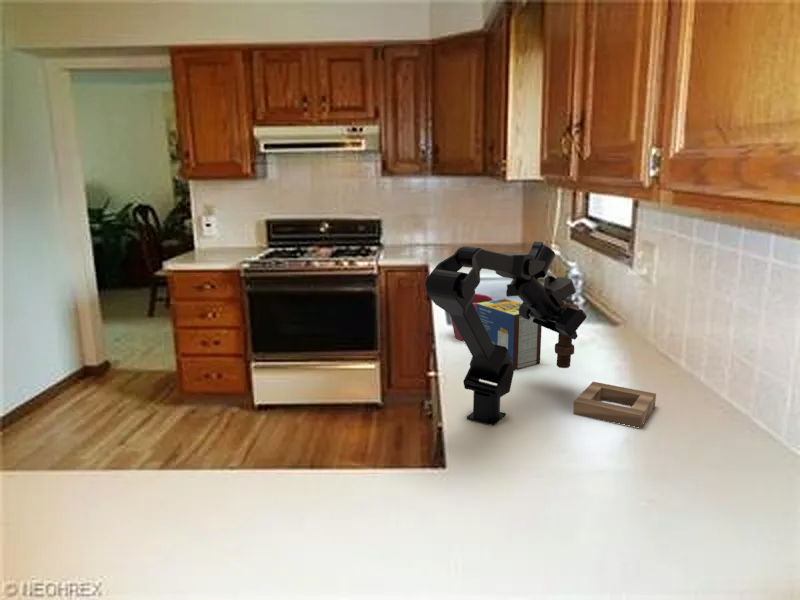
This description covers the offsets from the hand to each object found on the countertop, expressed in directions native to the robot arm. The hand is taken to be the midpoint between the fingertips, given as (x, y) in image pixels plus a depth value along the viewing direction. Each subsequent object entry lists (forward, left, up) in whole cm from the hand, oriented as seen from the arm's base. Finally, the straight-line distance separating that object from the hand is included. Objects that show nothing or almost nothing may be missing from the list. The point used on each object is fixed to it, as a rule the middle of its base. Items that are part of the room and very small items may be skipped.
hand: (569, 335), depth 143 cm
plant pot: (+26, +39, -14) cm, 49 cm away
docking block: (-7, -13, -13) cm, 20 cm away
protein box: (+12, +21, -14) cm, 28 cm away
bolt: (-1, +1, -8) cm, 8 cm away
